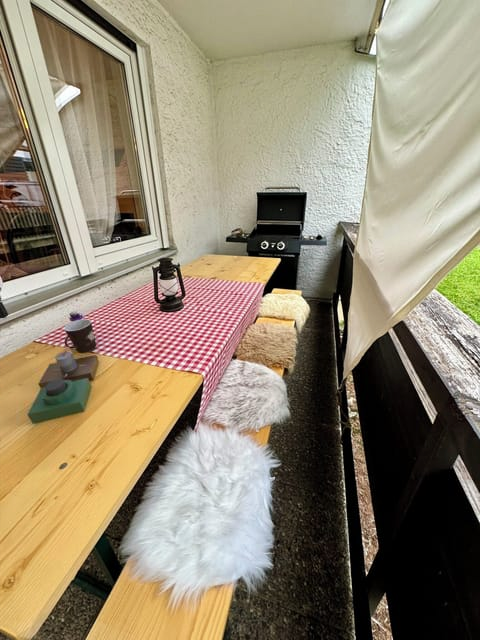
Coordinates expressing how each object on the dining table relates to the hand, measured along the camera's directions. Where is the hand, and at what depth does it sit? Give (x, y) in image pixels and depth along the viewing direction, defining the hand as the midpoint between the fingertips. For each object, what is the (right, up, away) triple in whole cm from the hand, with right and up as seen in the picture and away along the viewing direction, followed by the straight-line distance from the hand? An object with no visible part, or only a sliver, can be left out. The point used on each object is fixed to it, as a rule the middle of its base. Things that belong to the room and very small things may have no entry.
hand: (0, 317), depth 69 cm
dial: (+11, -16, +12) cm, 22 cm away
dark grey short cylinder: (+15, -20, 0) cm, 25 cm away
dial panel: (+11, -18, +13) cm, 25 cm away
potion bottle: (+3, -9, +33) cm, 34 cm away
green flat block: (+15, -24, +3) cm, 29 cm away
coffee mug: (+6, -12, +26) cm, 29 cm away
